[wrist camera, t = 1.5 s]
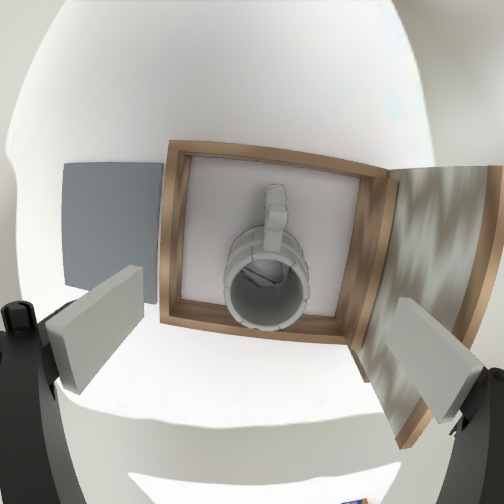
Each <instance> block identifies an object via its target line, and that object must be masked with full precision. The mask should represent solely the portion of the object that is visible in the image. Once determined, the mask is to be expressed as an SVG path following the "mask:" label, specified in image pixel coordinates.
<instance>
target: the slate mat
mask: <svg viewBox="0 0 504 504" xmlns="http://www.w3.org/2000/svg"><path fill="white" fill-rule="evenodd" d="M162 172H163V164H162V163H123V162H106V163H68V164H64V170H63V184H62V251H63V266H64V277H65V285H68V286H72V287H76V288H80V289H84V290H88V291H91V290H92V289H94V288H95V287H97V286H98V285H100V284H101V283H103V282H104V281H106V280H107V279H109V278H110V277H112V276H113V275H115V274H116V273H118V272H119V271H121V270H122V269H124V268H125V267H127V266H129V265H134V266H140V267H143V301H144V303H149V304H156V303H157V245H158V223H159V207H160V194H161V183H162Z"/></svg>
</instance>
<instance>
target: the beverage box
mask: <svg viewBox="0 0 504 504" xmlns="http://www.w3.org/2000/svg"><path fill="white" fill-rule="evenodd" d="M342 504H368V503H367V499H361V500H356V501H351V502H345V503H342Z"/></svg>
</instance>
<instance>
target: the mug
mask: <svg viewBox="0 0 504 504" xmlns="http://www.w3.org/2000/svg"><path fill="white" fill-rule="evenodd" d="M286 202H287V197H286V189H285V187H284V185H283V184H272V185H270V186H268V187H267V188H266V192H265V201H264V208H265V209H266V211H265V222H264V226H258V227H254V228H251V229H249V230H247V231H245V232H244V233H242V234H241V235H240V236H239V237H237V238H236V240H235V241H234V243H233V245H232V247H231V249H230V252H229V256H228V263H227V265H226V268H225V272H224V297H225V301H226V305H227V308H228V310H229V312H230V313H231V315H232V316H233V317H234V319H235V320H236V321H237V322H239V323H240V322H241V324H242V325H244V326H246V327H248V328H250V329H253V328H257V329H259V330H261V331H274V330H279V329H283V328H286V327H288V326H289V325H291V324H292V323H294V322H295V321H296V320H297V319H298V318H299V317H300V316H301V315H302V313H303V312H304V310H305V308H306V304H307V300H308V299H309V292H310V290H309V275H308V266H307V263H306V262H305V260H304V259H303V251H302V249H301V248H300V246H299V244H298V242H297V241H296V240H295V239H294V237H293V236H291V235H290V234H289V233H288V232H286V231H285V230H283V229H284V228H285V227H286V225H287V222H288V213H287V212H286V211H287V203H286ZM265 259H269V260H276V261H279V262H281V265H282V271H283V277H284V280H282V281H281V282H279V283H276V284H274V283H272V282H270V281H268V280H266V279H264V278H262V277H261V276H259V275H257V274H255V273H253V272H251V271H249V270H247V269H245V268H243V267H245V266H246V265H248V264H249V263H251V262H253V261H257V260H265ZM289 267H291V268H292V269H291V271H290V273H289V274H288V271H289ZM241 269H242V270H243V271H244V272H245V273H246V274H247V275H248V276H249V277H250V278H251V279H252V280H253V281H254V282H255V283H256V284H254V283H252V282H251V281H249V280H248V279H247V278H246V277H245V276H244V275H243V274H242V273H241V271H240V270H241ZM287 275H288V276H287Z"/></svg>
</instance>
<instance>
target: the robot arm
mask: <svg viewBox="0 0 504 504" xmlns="http://www.w3.org/2000/svg"><path fill="white" fill-rule="evenodd" d="M1 314H2V318H3V322H4V326H5V329H6V332H4V331H0V489H1V495H2V501H3V504H87V503H86V501H85V498H84V496H83V493H82V491H81V488H80V485H79V482H78V479H77V476H76V473H75V470H74V467H73V464H72V460H71V457H70V454H69V450H68V446H67V443H66V438H65V434H64V429H63V425H62V420H61V415H60V409H59V403H58V397H57V390H56V387H55V384H54V381H55V380H56V379H57V378H58V377H60V380H61V383H62V386H63V388H64V389H66V390H69V391H71V392H73V393H75V394H78V395H80V394H81V393H82V391H83V390H84V389H85V388H86V386H87V385H88V384H89V383H90V381H91V380H92V379H93V378H94V376H95V375H96V374H97V373H98V371H99V370H100V369H101V368H102V366H103V365H104V364H105V363H106V361H107V360H108V359H109V358H110V357H111V355H112V354H113V353H114V352H115V350H116V349H117V348H118V347H119V346H120V344H121V343H122V342H123V341H124V340H125V338H126V337H127V336H128V335H129V334H130V333H131V331H132V330H133V329H134V328H135V327H136V325H137V324H138V323H139V322H140V321H141V320H142V318H143V317H144V301H143V267H140V266H134V265H129V266H127V267H125V268H124V269H122V270H121V271H119V272H118V273H116V274H115V275H113V276H112V277H110V278H109V279H107V280H106V281H104V282H103V283H101V284H100V285H98V286H97V287H95V288H94V289H92V290H91V291H89V292H88V293H86V294H85V295H83V296H82V297H80V298H79V299H77V300H74V301H71V302H68V303H66V304H65V305H63V306H62V307H60V309H58V310H56V311H55V312H54V313H52V314H50V315H49V316H48V317H46V318H45V319H43V320H42V321H41V322H39V323H38V324H37V321H36V317H35V312H34V307H33V304H31V303H30V302H27V301H15V302H11V303H8V304H6V305H5V306H4V307H3V308H2V309H1ZM385 343H386V345H387V346H388V348H389V349H390V351H391V352H392V353H393V355H394V356H395V358H396V359H397V361H398V362H399V364H400V365H401V367H402V368H403V370H404V371H405V373H406V374H407V376H408V377H409V379H410V380H411V382H412V383H413V385H414V386H415V388H416V389H417V391H418V392H419V394H420V395H421V397H422V398H423V400H424V402H425V403H426V405H427V406H428V408H429V409H430V411H431V413H432V414H433V416H434V417H435V419H436V421H437V422H438V424H442V423H445V422H449V421H452V420H453V418H454V417H455V415H456V414H457V412H458V411H459V409H460V411H461V412H462V414H463V415H462V416H461V418H460V419H459V421H458V422H457V423H456V425H455V426H454V428H453V429H452V430H451V432H450V434H449V435H452V433H453V432H454V431H456V434H455V435H454V437H455V441H454V445H453V450H452V454H451V458H450V462H449V465H448V469H447V473H446V476H445V479H444V482H443V485H442V488H441V491H440V494H439V497H438V500H437V502H436V504H504V370H502V369H499V368H491V369H489V370H488V369H487V368H486V367H485V366H484V364H483V363H482V362H481V361H480V360H479V359H478V358H477V357H476V356H475V355H474V354H472V352H471V351H470V350H468V349H467V348H466V347H465V346H464V345H463V344H462V343H461V342H460V341H459V340H458V339H457V338H456V337H455V336H454V335H452V334H451V333H450V332H449V331H448V330H447V329H446V328H445V327H444V326H442V325H441V324H440V323H439V322H438V321H437V320H436V319H435V318H433V317H432V316H431V315H430V314H429V313H428V312H427V311H425V310H424V309H423V308H422V307H421V306H420V305H419V304H417V303H416V302H415V301H414V300H413V299H411V298H404V297H399V301H398V304H397V308H396V311H395V314H394V317H393V320H392V324H391V327H390V330H389V332H388V335H387V338H386V341H385Z"/></svg>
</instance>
